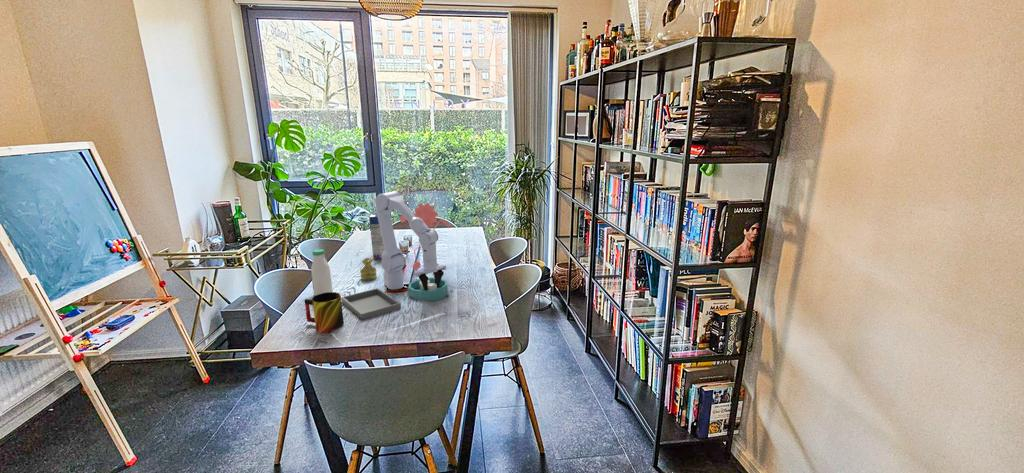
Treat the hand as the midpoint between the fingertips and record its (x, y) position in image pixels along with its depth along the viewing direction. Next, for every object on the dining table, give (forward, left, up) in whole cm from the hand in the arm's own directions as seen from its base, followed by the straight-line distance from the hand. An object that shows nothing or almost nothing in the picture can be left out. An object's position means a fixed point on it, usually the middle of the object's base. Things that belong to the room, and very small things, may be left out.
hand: (431, 288), depth 189 cm
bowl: (-3, 0, -3) cm, 5 cm away
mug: (+1, -46, -4) cm, 46 cm away
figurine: (-31, +16, -4) cm, 35 cm away
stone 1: (-6, 0, -2) cm, 6 cm away
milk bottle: (-34, -35, -4) cm, 49 cm away
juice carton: (-71, +8, -4) cm, 72 cm away
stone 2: (0, 0, -2) cm, 2 cm away
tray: (-6, -25, -3) cm, 26 cm away
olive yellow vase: (-40, -12, -4) cm, 42 cm away
